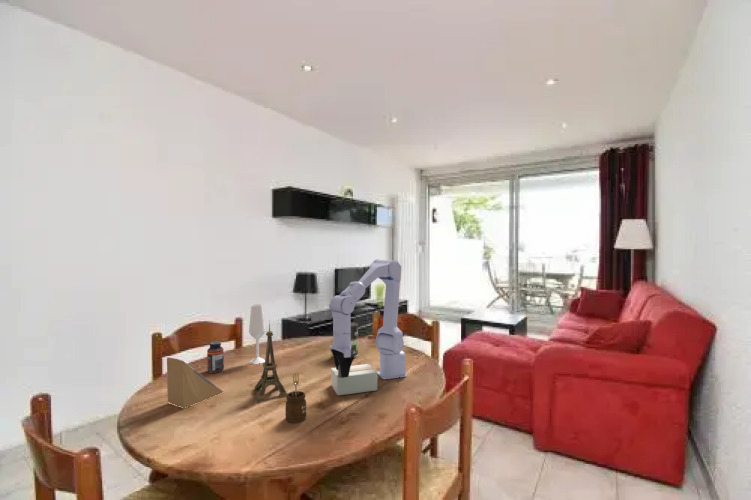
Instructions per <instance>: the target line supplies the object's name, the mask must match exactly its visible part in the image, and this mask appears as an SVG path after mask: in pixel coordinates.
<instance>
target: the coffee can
mask: <svg viewBox="0 0 751 500" xmlns="http://www.w3.org/2000/svg"><path fill="white" fill-rule="evenodd" d="M350 351H351V355H354V356H355V357H354V359H355V358H357V357H358V356H359V323H357V322H356V321H355V322H353V321H351V350H350Z"/></svg>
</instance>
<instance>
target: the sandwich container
mask: <svg viewBox="0 0 751 500" xmlns="http://www.w3.org/2000/svg"><path fill="white" fill-rule="evenodd" d="M166 375H167V376H166V379H167V382H166V383H167V386H166V387H167V403H168V402H170V403H172V404H175V405H177V406H181V407H183V408H185V407H187V406H190V405H193V404H195V403H198V402H201V401H203V400H205V399H208V398H210V397H213V396H215V395H218V394H220V393H222V392H225V391H224V390H222V388H220V387H219V386H217V385H216V384H214V383H213V382H211V381H210V380H209V379H207V378H206V377H205V376H204V375H202V374H201V373H199V372H198V371H197V370H196V369H195V368H193V367H192V366H191V365H190V364H188V363H187V362H185V361H184V360H181V359H179V358H173V357H167V358H166ZM222 394H223V393H222ZM220 395H221V394H220ZM218 396H219V395H218ZM215 397H216V396H215ZM213 398H214V397H213ZM210 399H211V398H210ZM208 400H209V399H208ZM203 402H204V401H203ZM201 403H202V402H201ZM198 404H199V403H198ZM193 406H194V405H193Z"/></svg>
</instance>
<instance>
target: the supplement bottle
mask: <svg viewBox="0 0 751 500" xmlns="http://www.w3.org/2000/svg"><path fill="white" fill-rule="evenodd" d="M206 354H207V355H206V357H207V362H206V364H207V365H206V366H207V372H208V373H209V372H218V373H220V372H219V371H221V372H222V370H223V371H224V369H225V365H224V362H225V361H224V358H225V357H224V354H225V353H224V347H222V342H221V341H218V340H217V341H211V342H210V343H209V347H208V349H207V351H206Z"/></svg>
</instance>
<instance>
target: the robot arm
mask: <svg viewBox="0 0 751 500" xmlns="http://www.w3.org/2000/svg"><path fill="white" fill-rule="evenodd" d="M401 278H402V265H401V263H400V262H399V261H398V260H396V259H392V260H389V259H379V258H378V259H374V261H373V262H371V263H370V265H369V269H368V270H367V271H365V273H364V274H363V275H362V276H361V278H360V279H359V280H358V281H356V280H355V281H351V282H349V285H348V286H347V287H346V288H345V289H344V290H343V291H341V292H340V294H339V295H335V296H333V297H332V298H331V300H330V302H329V304H328V306H329V307H328V308H329V310H330V311H331V316H332V321H333V322H332V323H333V324H332V327H333V329H332V330H333V331H332V334H333V337H332V339H333V340H332V341H333V342H332V344H333V345H332V344H331V345H329V349H330V352H331V354H332V356H333V361H334V366H335V368H336V370H338V366H339V365H340V372H341V376H342V378H343V377H348V376H349V372H350V367H351V366H352V363H353V361H354V360H355V358H356V357H355V356H354V355H351V351H350V350H351V322H352V320H351V317H352V316H351V315H352V314H351V313H353V312H354V310H355V306H356V305H357V302H358V301H359V300H360V299H361V298H362V297H363V296H364V295H365V294H366V289H367V288H368V287H369V286H370V285H371V284H372V283H374V282H375V281H376V280H377V279H379V280H381V281H382V282H383V283H384V284H385V290H384V305H383V306H384V307H383V322H382V326H381V327H380V328H378V329H377V333H376V334H377V335H376V338H375V341H374V342H375V346H376V348H377V350H378V352H379V370H378V371H377V370H376V372H377V376H379V377H380V378H381V379H383V380H389V379H390V380H391V379H398V378H399V377H400V378H406V377H407V366H406V365H407V363H406V362H407V359H406V353H405V351H403V348H404V345H405V342H404V338H403V337H404V336H403V335H404V333H403V331H402V330H401V329H400V328H399V327H398V318H399V317H398V316H399V302H400V290H401V289H400V288H401V281H402V280H401ZM354 357H355V358H354ZM400 378H399V379H400Z"/></svg>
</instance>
